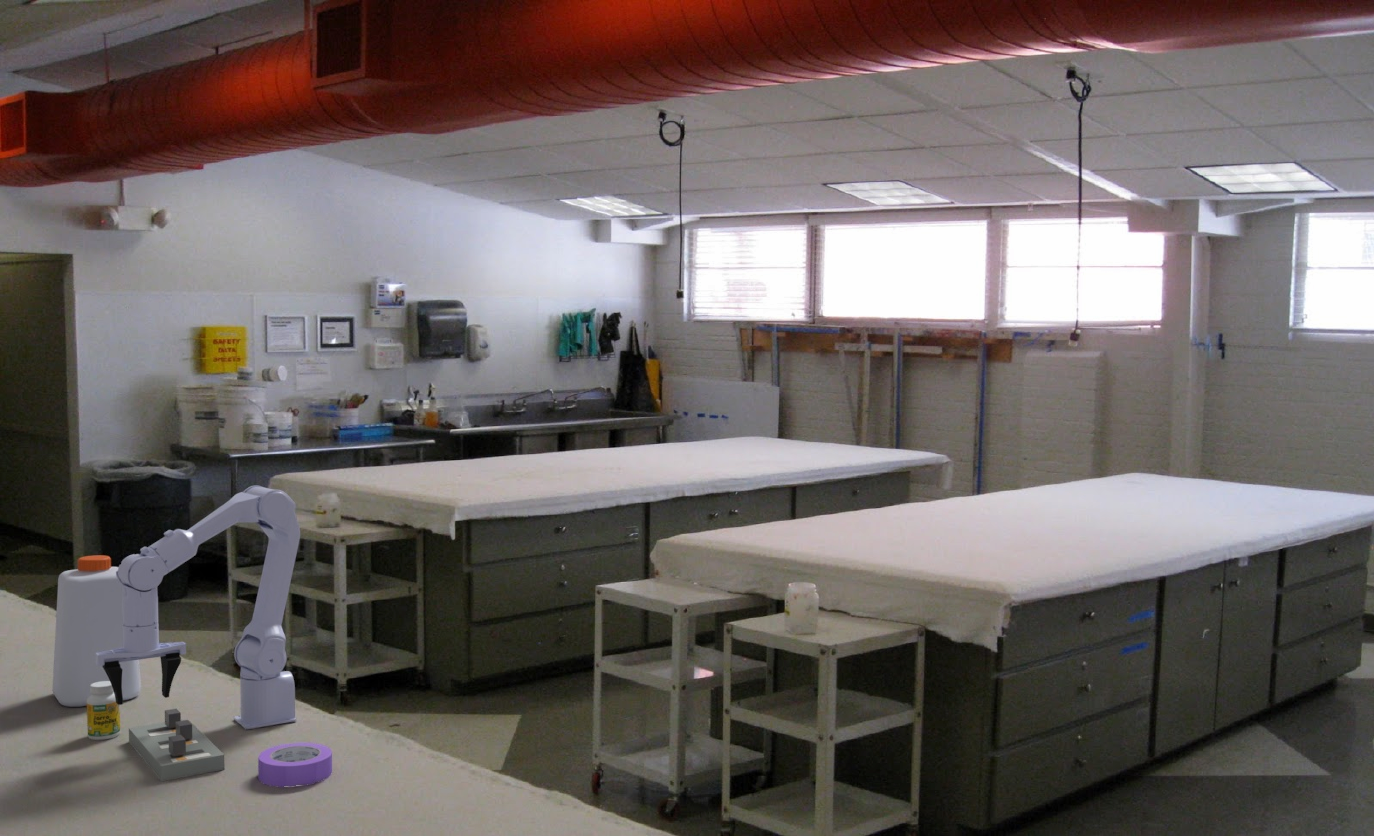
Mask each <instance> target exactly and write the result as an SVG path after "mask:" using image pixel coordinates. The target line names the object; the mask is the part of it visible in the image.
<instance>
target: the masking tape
mask: <svg viewBox="0 0 1374 836" xmlns="http://www.w3.org/2000/svg"><path fill="white" fill-rule="evenodd" d="M257 759H258V765H257V767H258V769H257V770H258V774H257V775H258V776H257V777H258V778H257V779H258V781H259V782H260V783H261V782H262V783H261V784H263V783H264V784H263V785H265V784H266V786H268V785H271V786H270V787H273V786H278V787H277V788H285V787H284V786H296V785H305V786H309V784H310V785H314V784H316V783H315V782H317V783H319V782H318V781H320V782H322V781H324V780H323V779H325V780H327V779H328V778H329V777H330V776H332V774H331V773H333V750H332V749H331V748H330V747H329V746H327V745H324V744H323V743H322V744H321V743H315V742H291V743H283V744H277V745H275V746H272V747H269V748H267V749H264V750H263V751H261V752H260V753H259V755H258V757H257ZM321 780H322V781H321ZM313 783H314V784H313ZM307 784H308V785H307Z"/></svg>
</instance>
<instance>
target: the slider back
mask: <svg viewBox="0 0 1374 836" xmlns="http://www.w3.org/2000/svg"><path fill="white" fill-rule="evenodd" d="M181 715H182V714H181V711H180V710H179V709H177V708H172V709H165V710H164V722H165V725H166V726H167V727H168V728H175V727H176V722H177V721H181V720H182V719H181V718H182V717H181Z"/></svg>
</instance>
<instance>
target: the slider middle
mask: <svg viewBox="0 0 1374 836" xmlns="http://www.w3.org/2000/svg"><path fill="white" fill-rule="evenodd" d="M188 720H189V719H188ZM188 720H183V721H177V722H176V736H177V735H182V736H183V737H184V738H185V739H192V724H193V723H192V722H191V721H190V720H189V721H190V722H191V723H192V724H191V723H190V722H189V721H188Z"/></svg>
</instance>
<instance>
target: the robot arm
mask: <svg viewBox="0 0 1374 836" xmlns="http://www.w3.org/2000/svg"><path fill="white" fill-rule="evenodd" d="M296 507H297V504H296V502H295V501H294V500H293V499H292V498H291V497H290V496H289V494H287V492H285V491H283V490H281V489H273V488H270V487H269V488H268V487H264V486H261V485H256V484H255V485H251V486H249V487H247V488H245V489H244V490H243V491H240V492H238V493H235V494H234V496H232V497H231V498H230V499H228V501H226V502H225V503H224V504H222V505H221V506H219V507H218V508H216V509H215V510H214V511H212V512H211V513H210V514H208V515H206V517H204V518H202V519H201V520H199V521H198V522H197V523H195V524H194V525H193V526H191V527H189V529H187V530H186V529H181V528H175V529H174V530H171V529H168V530H167V531H164V533H163V535H164V536H163V537H162V538H160V539H159V540H157V541H156V542H154V543H152V544H151V545H149V546H148V547H147V546H143V547H141V548H140V550H139V551H140V553H136V554H135V553H133V554H130V555H128V556H126V557H124V558H123V559H122V561H120V563H121V564H119V565H118V567H119V568H118V571H116V576H117V578H118V580H119V581H120V582H121V583H122V590H123V598H122V605H123V642H124V648H119V649H114V650H110V651H105V652H99V653H96V664H97V665H98V666H102V667H103V669H104V670H105V672H106V674H107V676H108V678H109V680H110V682H111V685H112V688H113V691H114V694H115V699H116V703H117V704H118V705H120V706H121V705H123V703H124V701H123V696H122V670H123V669H122V668H121V667H120V664H119V662H125V661H133V660H146V659H153V658H160V663H161V664H160V665H161V696H163V698H164V699H165V698H170V692H171V688H172V684H173V680H174V677H175V675H176V672H177V670H178V669H179V666H180V665H181V661H182V657H181V656H182V655H187V643H186V642H184V641H176V642H175V641H174V642H160V632H159V631H160V630H159V628H160V627H159V596H158V586H159V585H160V584H161V583H162V581H163V578H164V576H166V575H167V574H169V573H170V572H172V571H174V570H175V569H177V568H179V567H180V566H182V565H183V564H184V563H185V562H187V561H189V560H190V559H192V558H194V556H196V555H197V553H198V550H199V549H198V548H199V546H200V545H201V544H204V543H205V542H207V541H208V540H210V539H212V538H213V537H215V536H217V535H219V534H221V533H222V532H223V531H225V530H227V529H229V528H230V527H232V526H233V525H235V524H238V523H255V524H257V525H258V526H259V527H260V528H261V530H262V531H263V532H264V534H265V535H266V536H267V538H268V544H267V548H266V549H267V550H266V553H265V556H264V557H265V558H264V563H263V566H262V572H261V577H260V581H259V585H258V591H257V596H256V599H255V600H256V601H255V605H254V609H253V613H252V618H251V621H250V622H249V624H247V625H246V626H245V628H244V629H243V633H242V636H241V638H240V640H239V641H238V643H236V646H235V648H234V654H233V655H234V661H235V662H236V664H237V665H238V666H239V667H240V674H239V675H240V676H239V679H240V680H239V681H240V683H239V685H240V687H239V688H240V689H239V690H240V715H235V716H234V717H233V720H235V722H237V724H239V725H240V726H241V727H243V728H244V729H245V730H250V729H257V728H263V727H268V726H274V725H280V724H287V723H292V722H293V723H294V722H296V721H297V718H296V687H295V680H294V679H295V678H294V676H293V673H292V672H291V671H289V670H286V671H285V670H284V668H285V666H286V664H287V660H288V659H287V658H288V657H287V653H286V640H287V639H286V638H287V637H286V635H285V633H284V630H283V629H284V628H283V627H282V623H283V621H284V620H283V619H284V616H285V615H284V614H285V609H286V604H287V601H288V596H289V590H290V588H291V587H290V586H291V582H292V581H291V580H292V577H293V573H294V566H295V563H296V557H297V553H298V549H299V544H300V540H301V539H300V538H301V529H300V524H299V521H298V518H297V515H296Z"/></svg>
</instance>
